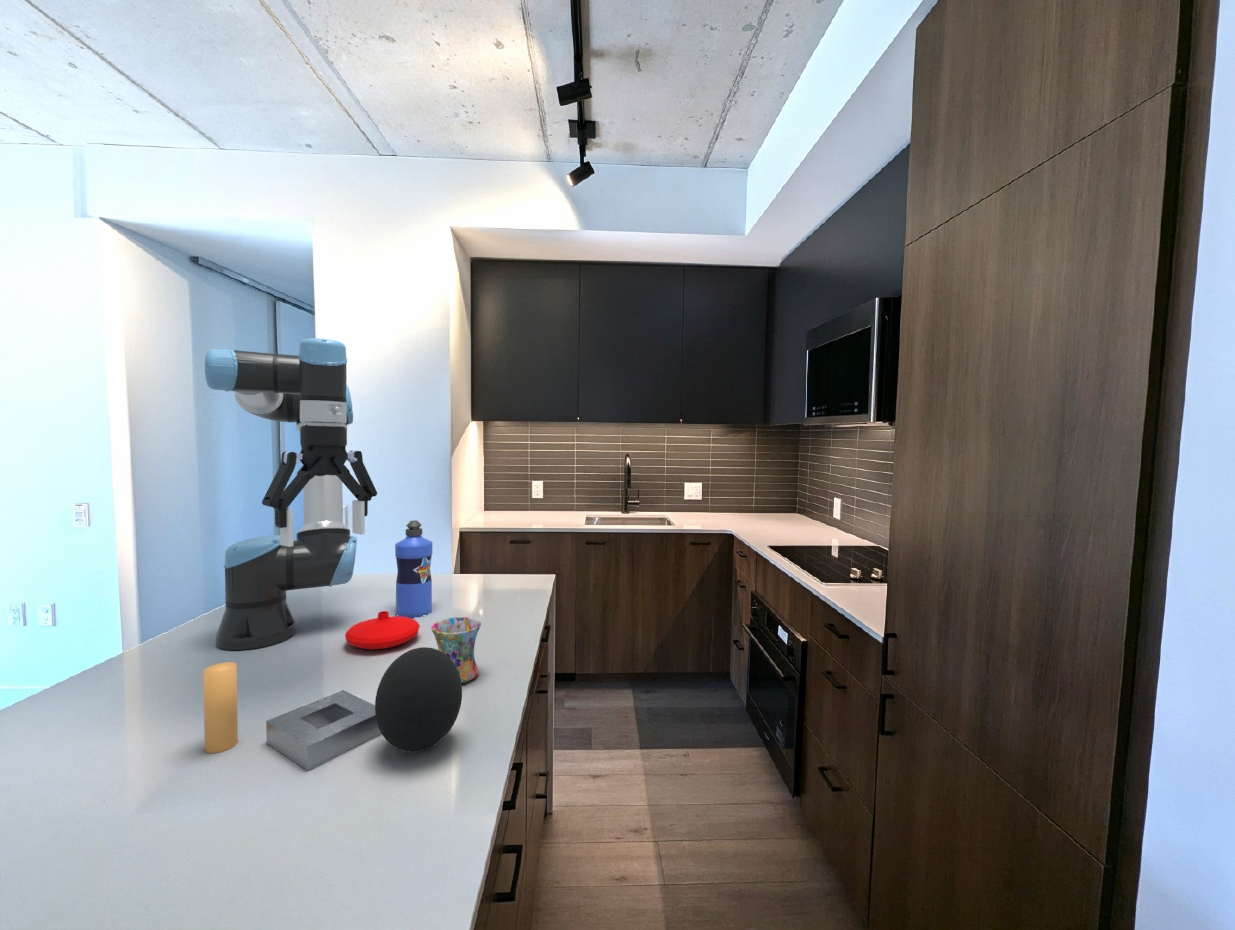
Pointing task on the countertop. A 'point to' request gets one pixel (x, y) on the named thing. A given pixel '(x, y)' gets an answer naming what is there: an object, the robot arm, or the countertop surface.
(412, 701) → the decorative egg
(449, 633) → the mug
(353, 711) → the grey peg socket
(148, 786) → the countertop surface
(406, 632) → the red pot lid
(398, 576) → the water bottle
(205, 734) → the orange cylindrical peg
